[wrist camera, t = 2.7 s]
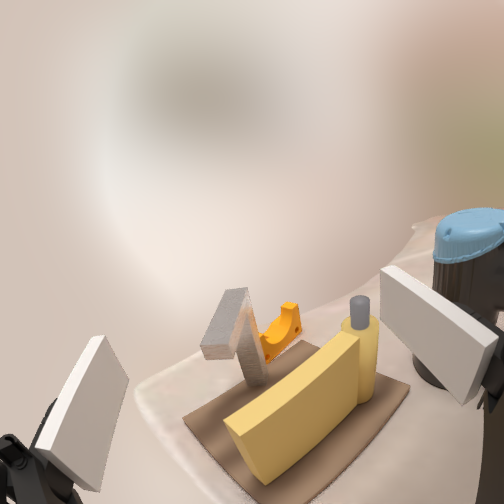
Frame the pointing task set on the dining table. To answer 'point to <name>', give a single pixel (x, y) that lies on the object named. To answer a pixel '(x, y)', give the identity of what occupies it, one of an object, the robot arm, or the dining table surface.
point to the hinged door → (309, 398)
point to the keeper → (236, 336)
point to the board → (318, 458)
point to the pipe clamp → (281, 331)
